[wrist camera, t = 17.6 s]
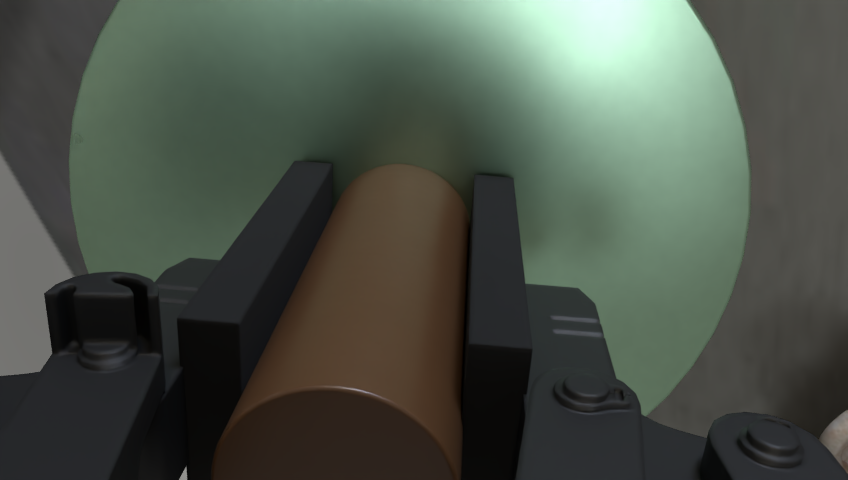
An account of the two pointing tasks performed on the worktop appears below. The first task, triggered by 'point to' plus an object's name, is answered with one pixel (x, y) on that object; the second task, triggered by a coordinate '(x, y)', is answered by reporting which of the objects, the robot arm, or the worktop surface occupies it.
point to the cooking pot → (837, 439)
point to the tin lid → (416, 193)
